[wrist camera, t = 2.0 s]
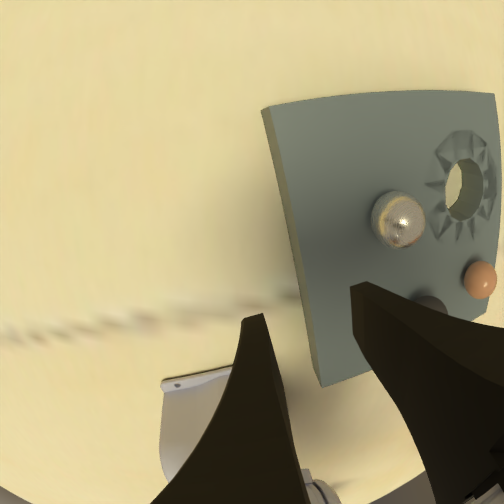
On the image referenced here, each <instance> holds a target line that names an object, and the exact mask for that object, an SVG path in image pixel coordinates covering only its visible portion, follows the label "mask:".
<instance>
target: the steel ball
mask: <svg viewBox="0 0 504 504" xmlns="http://www.w3.org/2000/svg"><path fill="white" fill-rule="evenodd" d="M425 226H426V216H425V211H424V209H423V207H422V205H421V203H420V202H419V201H418V200H417V199H416V198H415V197H414V196H413V195H411V194H409V193H407V192H404V191H392V192H388V193H386V194H384V195H383V196H381V197H380V198H379V199H378V200H377V201H376V203H375V205H374V206H373V209H372V212H371V227H372V230H373V232H374V234H375V236H376V237H377V239H378V240H379V241H380V242H381V243H382V244H384V245H385V246H387V247H389V248H392V249H406V248H409V247H411V246H413V245H414V244H416V243H417V242H418V241H419V240H420V238H421V237H422V235H423V233H424V230H425Z"/></svg>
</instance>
